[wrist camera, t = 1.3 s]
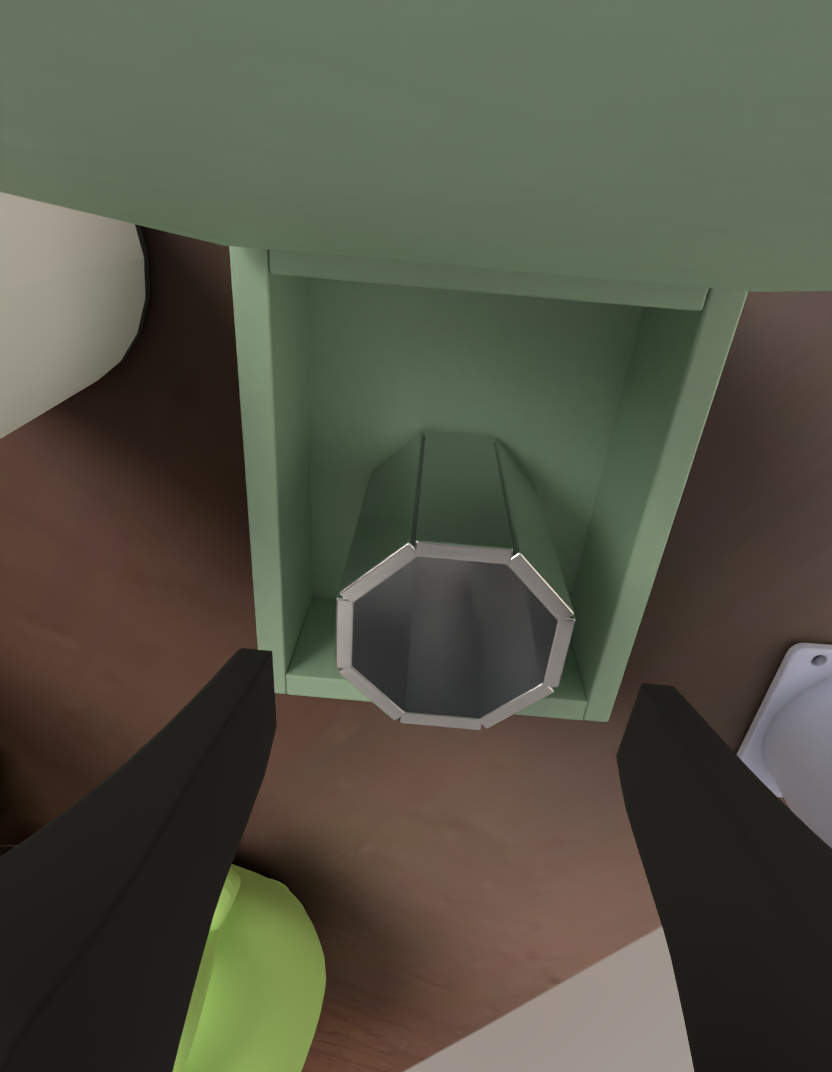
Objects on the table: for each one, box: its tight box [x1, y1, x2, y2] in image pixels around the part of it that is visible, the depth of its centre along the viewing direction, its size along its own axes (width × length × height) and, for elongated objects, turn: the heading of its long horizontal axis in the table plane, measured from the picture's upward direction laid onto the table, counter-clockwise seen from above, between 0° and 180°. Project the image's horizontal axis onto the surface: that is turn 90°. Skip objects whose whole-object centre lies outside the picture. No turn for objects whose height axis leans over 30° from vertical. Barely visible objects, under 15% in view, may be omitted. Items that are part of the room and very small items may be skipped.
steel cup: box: [335, 431, 576, 730], centre depth 16 cm, size 5×5×7 cm
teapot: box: [173, 864, 326, 1072], centre depth 27 cm, size 22×15×13 cm
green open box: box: [229, 246, 748, 722], centre depth 17 cm, size 13×11×5 cm
